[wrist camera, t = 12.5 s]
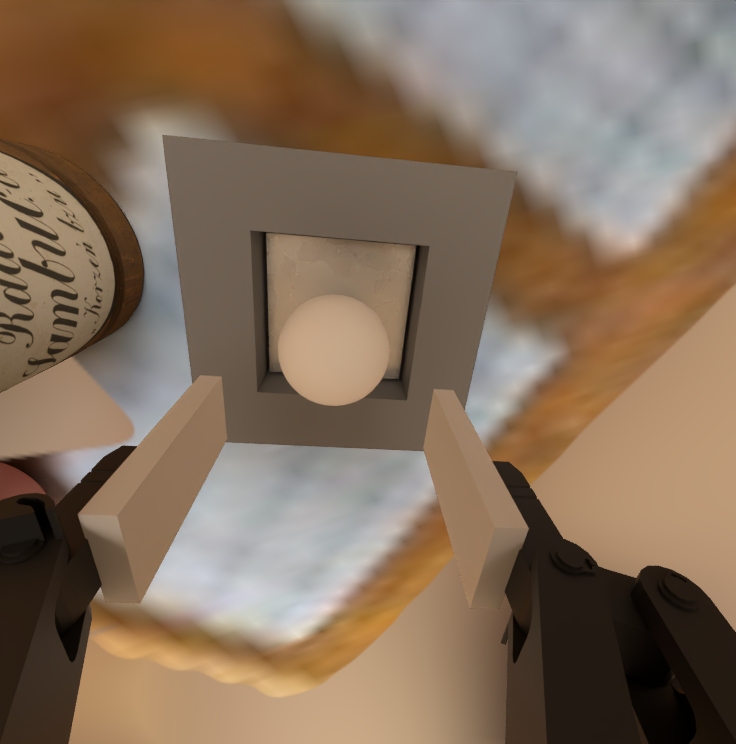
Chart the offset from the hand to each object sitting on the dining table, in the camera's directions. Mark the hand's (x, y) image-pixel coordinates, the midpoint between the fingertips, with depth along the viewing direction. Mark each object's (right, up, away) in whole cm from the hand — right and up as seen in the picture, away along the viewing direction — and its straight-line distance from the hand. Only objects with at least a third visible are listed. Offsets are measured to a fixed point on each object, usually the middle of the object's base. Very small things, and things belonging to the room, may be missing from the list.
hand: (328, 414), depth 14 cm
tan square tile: (-1, +7, +16) cm, 18 cm away
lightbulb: (-1, +6, +14) cm, 15 cm away
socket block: (-1, +8, +17) cm, 19 cm away
